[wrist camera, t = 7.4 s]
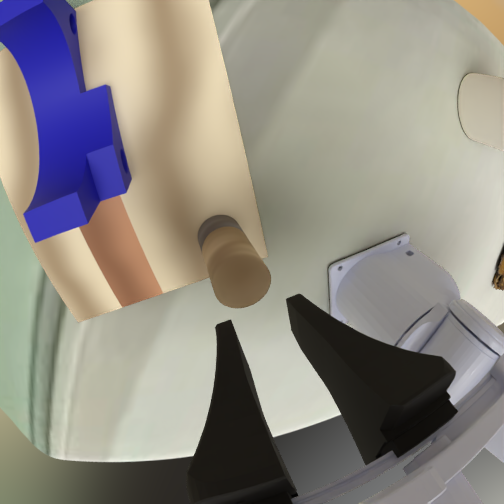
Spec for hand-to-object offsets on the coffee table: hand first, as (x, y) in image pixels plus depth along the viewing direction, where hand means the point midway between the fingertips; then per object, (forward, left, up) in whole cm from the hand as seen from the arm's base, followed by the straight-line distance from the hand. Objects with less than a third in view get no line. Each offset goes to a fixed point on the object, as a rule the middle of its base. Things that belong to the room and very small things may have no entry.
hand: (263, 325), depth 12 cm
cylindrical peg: (0, 0, -9) cm, 9 cm away
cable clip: (+6, -12, -9) cm, 16 cm away
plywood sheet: (+5, -8, -9) cm, 13 cm away
